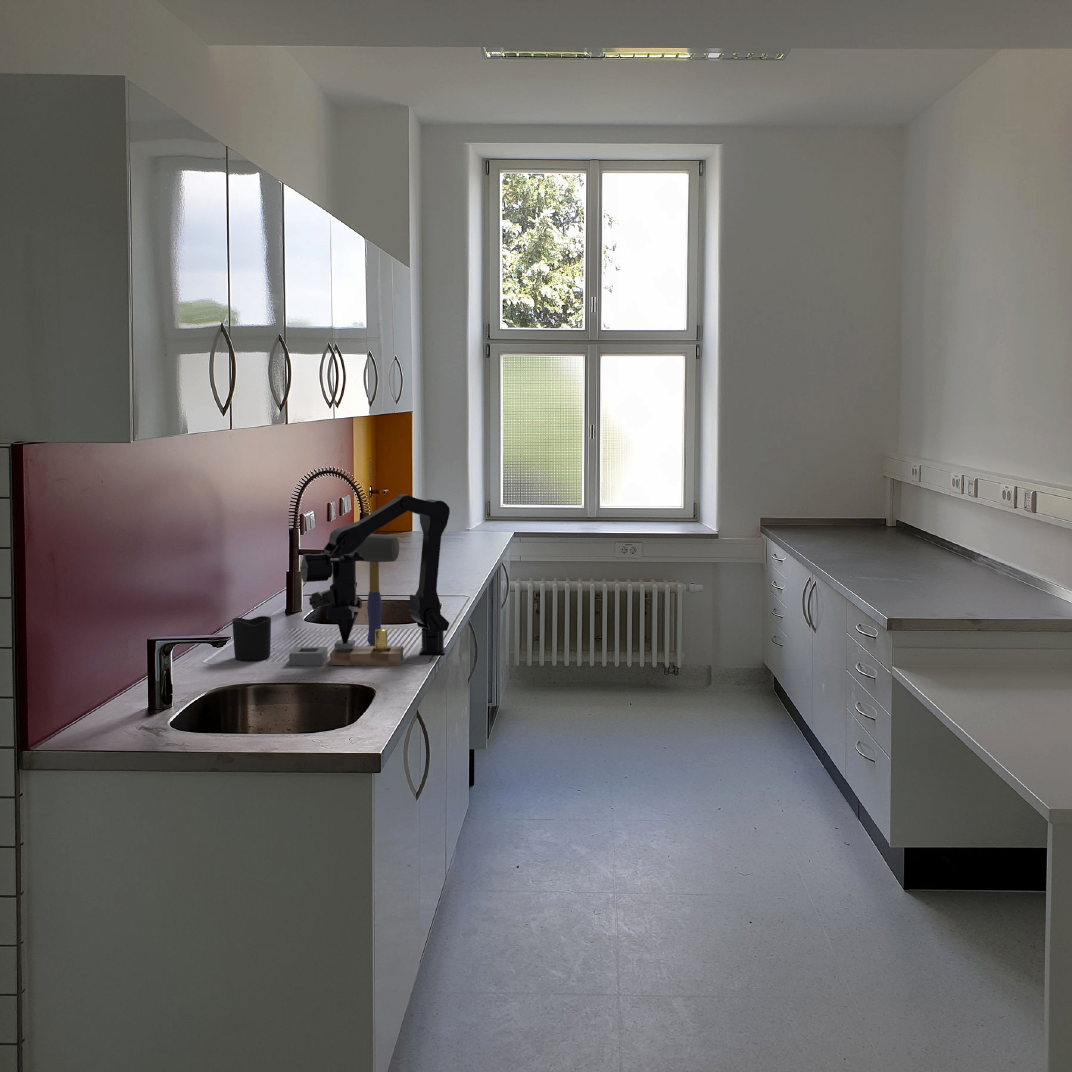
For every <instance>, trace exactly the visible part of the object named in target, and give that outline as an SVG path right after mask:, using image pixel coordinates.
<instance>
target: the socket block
mask: <svg viewBox="0 0 1072 1072" xmlns="http://www.w3.org/2000/svg"><path fill="white" fill-rule="evenodd" d="M403 659H404V645H402V646H401V645H397V646H396V645H391V646H390V645H387V652H375V646H370V645H369V646H367V645H365V646H364V645H363V646H361V645H358V646H356V645H355V646H354V647H353V648H352V651H338V648H335V647H334V648H333V649H332V650H331V652H330V653H329V666H330V665H387V666H386V667H388V666H389V665H391V666H392V665H395V666H399V667H400V666H401V663H402V662H403ZM391 666H389V667H391ZM395 666H394V667H395ZM392 667H393V666H392Z"/></svg>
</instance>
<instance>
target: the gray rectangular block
mask: <svg viewBox="0 0 1072 1072" xmlns="http://www.w3.org/2000/svg"><path fill="white" fill-rule="evenodd" d="M354 646H356V640H355V639H348V641H347V642H343V641H342V639H339V640H338V639H337V640H336V641H335V642H334V648H338V651H352V648H353V647H354Z"/></svg>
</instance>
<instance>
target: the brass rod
mask: <svg viewBox="0 0 1072 1072" xmlns="http://www.w3.org/2000/svg"><path fill="white" fill-rule="evenodd" d="M387 646H388V629H386V628H381V629H377V630H375V652H387Z"/></svg>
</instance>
